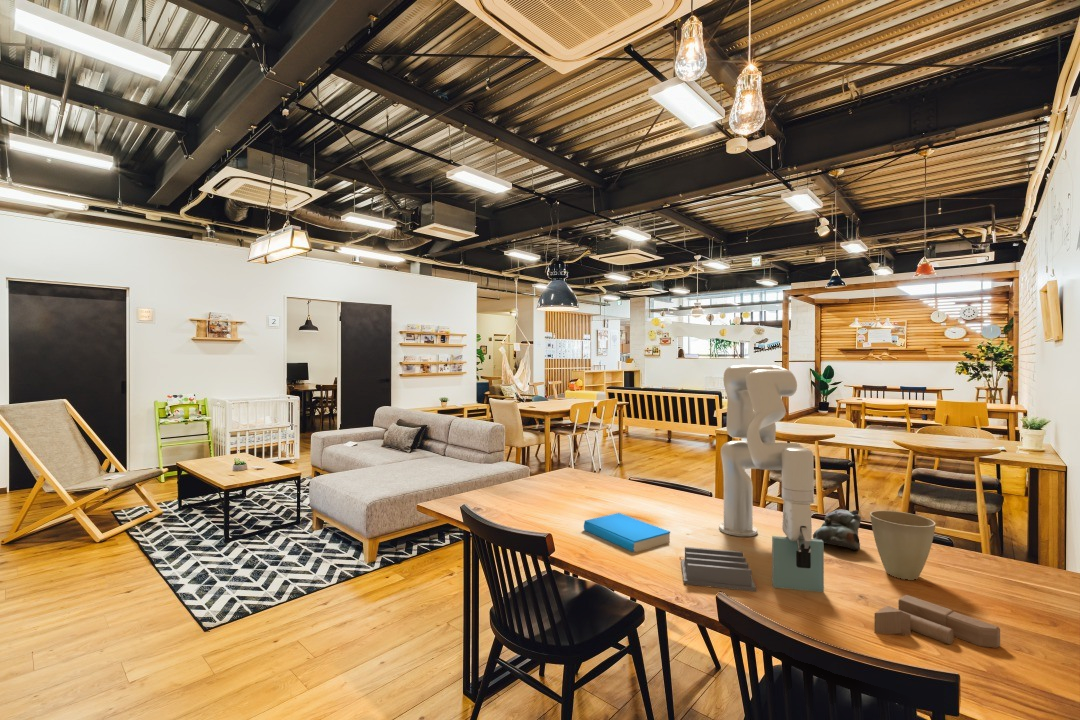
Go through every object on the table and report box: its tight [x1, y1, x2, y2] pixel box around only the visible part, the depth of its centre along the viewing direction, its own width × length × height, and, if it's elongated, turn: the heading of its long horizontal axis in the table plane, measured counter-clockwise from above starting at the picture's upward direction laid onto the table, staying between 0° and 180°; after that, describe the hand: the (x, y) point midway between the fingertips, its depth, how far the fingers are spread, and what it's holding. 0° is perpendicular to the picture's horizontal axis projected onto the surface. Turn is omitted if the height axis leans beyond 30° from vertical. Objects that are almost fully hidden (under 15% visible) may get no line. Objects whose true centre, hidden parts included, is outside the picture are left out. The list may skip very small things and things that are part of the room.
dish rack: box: [680, 546, 757, 592], centre depth 138 cm, size 15×18×5 cm
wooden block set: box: [873, 594, 1001, 649], centre depth 107 cm, size 17×6×18 cm
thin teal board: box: [771, 535, 825, 593], centre depth 131 cm, size 2×12×13 cm, turn 77°
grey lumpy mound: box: [812, 508, 862, 552], centre depth 162 cm, size 15×12×14 cm
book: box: [583, 512, 671, 553], centre depth 170 cm, size 17×4×25 cm
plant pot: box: [869, 510, 937, 581], centre depth 139 cm, size 15×15×16 cm
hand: (798, 560), depth 130 cm, fingers open, 9 cm apart
